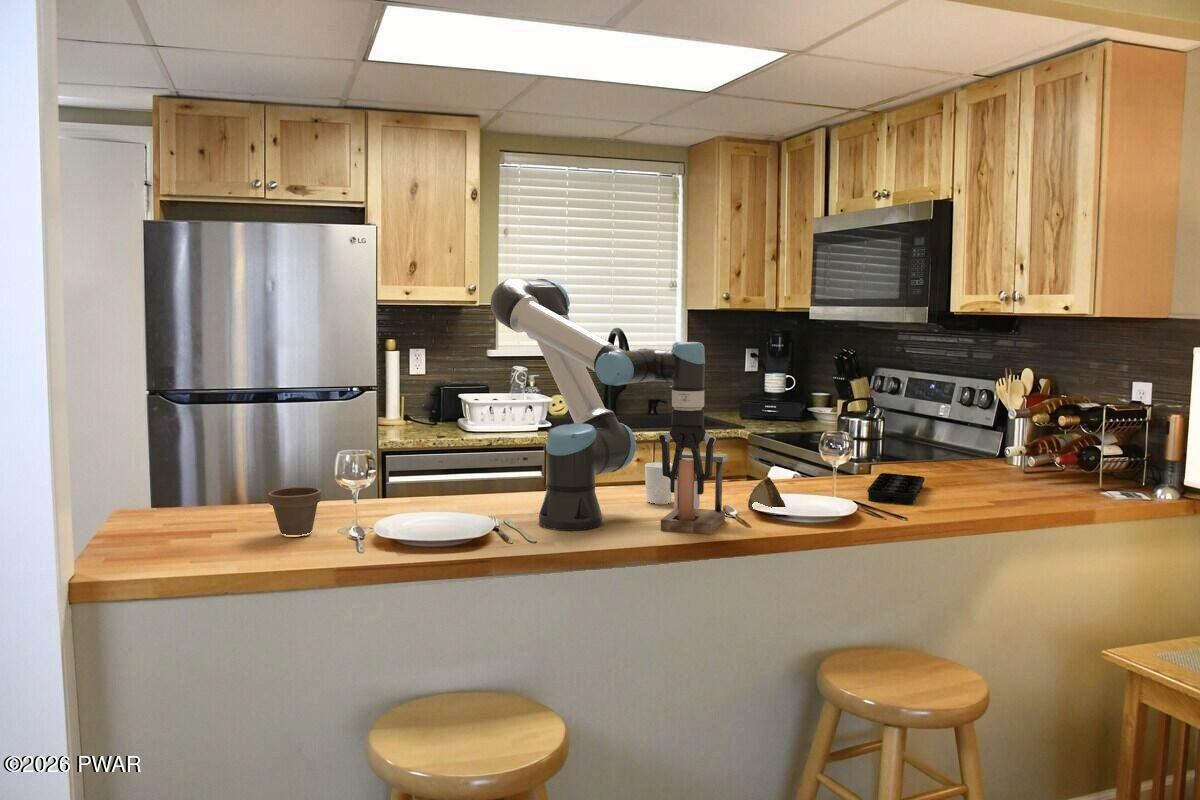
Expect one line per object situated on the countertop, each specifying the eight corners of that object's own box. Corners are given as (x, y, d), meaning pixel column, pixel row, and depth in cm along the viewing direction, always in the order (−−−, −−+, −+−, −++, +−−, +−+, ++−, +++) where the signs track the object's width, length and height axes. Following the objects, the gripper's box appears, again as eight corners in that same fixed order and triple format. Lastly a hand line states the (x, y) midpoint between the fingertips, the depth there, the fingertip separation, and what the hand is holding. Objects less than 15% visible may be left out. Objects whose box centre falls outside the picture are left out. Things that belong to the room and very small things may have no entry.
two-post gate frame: (673, 510, 243) (674, 454, 242) (678, 506, 248) (679, 451, 247) (721, 514, 239) (722, 457, 238) (725, 509, 244) (727, 454, 243)
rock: (736, 499, 258) (747, 502, 248) (755, 473, 258) (767, 474, 249) (769, 524, 259) (781, 528, 249) (787, 497, 259) (800, 500, 250)
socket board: (660, 530, 233) (660, 519, 233) (677, 516, 247) (677, 506, 247) (711, 534, 229) (711, 523, 229) (724, 520, 243) (725, 510, 243)
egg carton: (922, 487, 292) (923, 474, 291) (936, 508, 262) (937, 494, 262) (860, 484, 295) (860, 471, 294) (867, 505, 266) (868, 491, 265)
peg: (676, 519, 234) (676, 460, 232) (680, 516, 238) (681, 458, 236) (692, 520, 232) (693, 461, 231) (696, 517, 236) (697, 458, 235)
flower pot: (258, 535, 225) (257, 491, 224) (302, 526, 234) (301, 484, 233) (287, 543, 218) (286, 498, 217) (332, 534, 226) (331, 490, 225)
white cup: (674, 499, 268) (675, 462, 267) (673, 505, 261) (674, 467, 260) (645, 498, 269) (645, 462, 268) (643, 504, 261) (644, 467, 260)
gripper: (648, 408, 232) (647, 507, 234) (720, 411, 226) (718, 513, 229) (657, 405, 239) (656, 501, 241) (727, 408, 233) (725, 506, 236)
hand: (686, 506), depth 235 cm, fingers closed on peg, 4 cm apart
